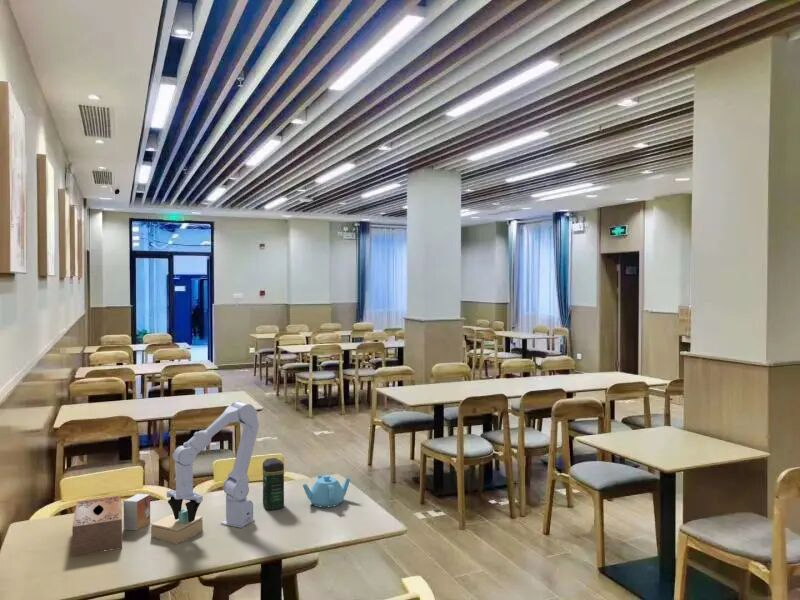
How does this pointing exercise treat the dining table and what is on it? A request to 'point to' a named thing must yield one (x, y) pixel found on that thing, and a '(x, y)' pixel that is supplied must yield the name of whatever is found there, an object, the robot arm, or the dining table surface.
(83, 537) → the tissue box cover
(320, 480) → the teapot
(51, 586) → the dining table surface
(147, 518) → the small box
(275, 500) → the coffee jar
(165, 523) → the tan flat square block
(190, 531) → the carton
